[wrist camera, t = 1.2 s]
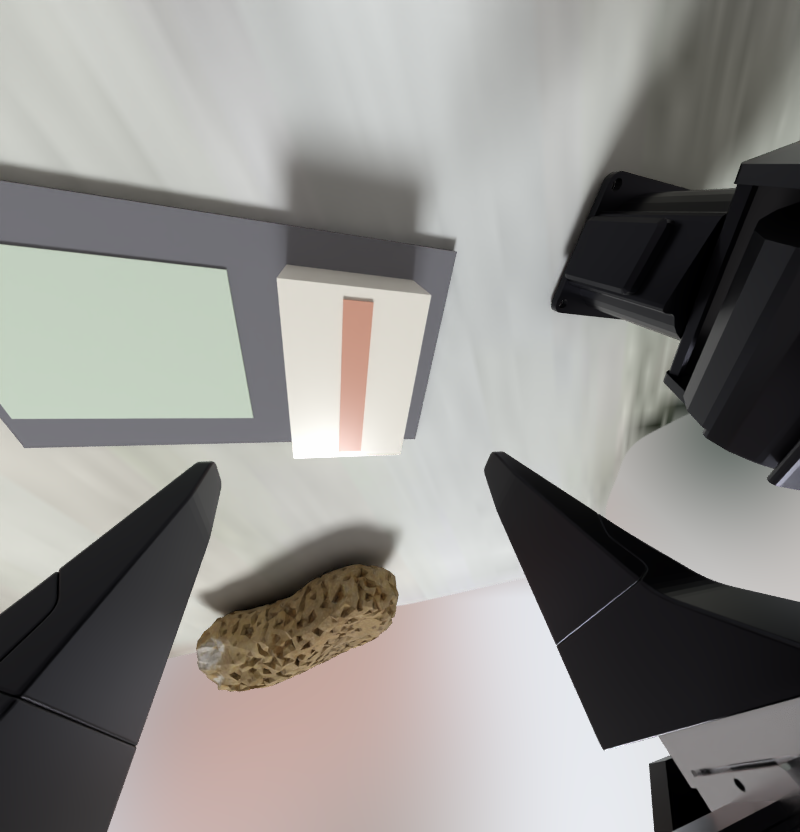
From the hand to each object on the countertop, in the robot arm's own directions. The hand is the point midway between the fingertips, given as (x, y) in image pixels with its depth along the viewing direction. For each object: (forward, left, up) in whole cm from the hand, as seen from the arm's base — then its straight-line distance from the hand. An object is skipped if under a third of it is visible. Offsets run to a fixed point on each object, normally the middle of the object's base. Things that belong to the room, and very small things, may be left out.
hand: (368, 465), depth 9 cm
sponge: (+3, +29, -9) cm, 30 cm away
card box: (0, 0, -9) cm, 9 cm away
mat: (+6, 0, -9) cm, 11 cm away
